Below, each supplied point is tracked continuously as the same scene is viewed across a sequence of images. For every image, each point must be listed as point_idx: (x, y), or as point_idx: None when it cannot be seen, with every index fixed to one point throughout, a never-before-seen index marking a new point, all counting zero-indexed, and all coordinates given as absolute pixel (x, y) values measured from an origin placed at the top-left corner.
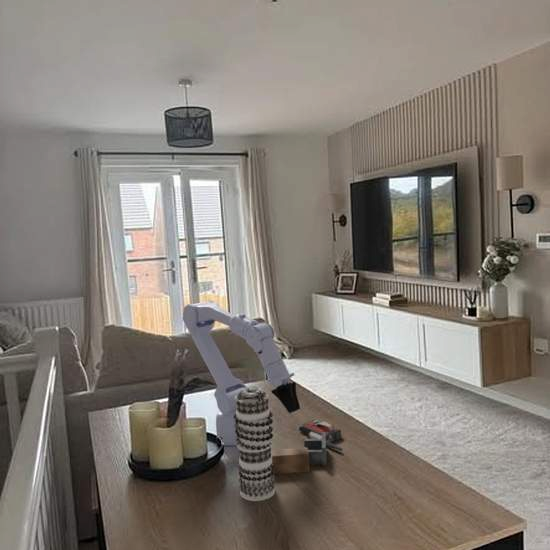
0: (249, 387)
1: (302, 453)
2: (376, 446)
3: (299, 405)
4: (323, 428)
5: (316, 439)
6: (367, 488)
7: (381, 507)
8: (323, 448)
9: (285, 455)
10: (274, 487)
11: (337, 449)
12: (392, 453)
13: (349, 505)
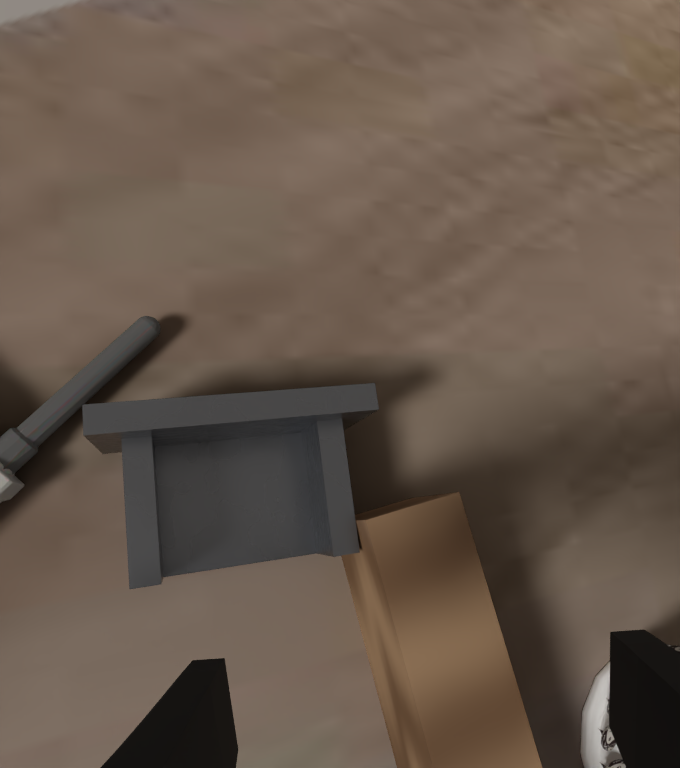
0: None
1: (463, 537)
2: (44, 118)
3: (177, 682)
4: None
5: (130, 483)
6: (520, 216)
7: (635, 181)
8: (375, 399)
9: (507, 657)
10: (672, 646)
11: (145, 346)
12: (146, 53)
13: (652, 293)
